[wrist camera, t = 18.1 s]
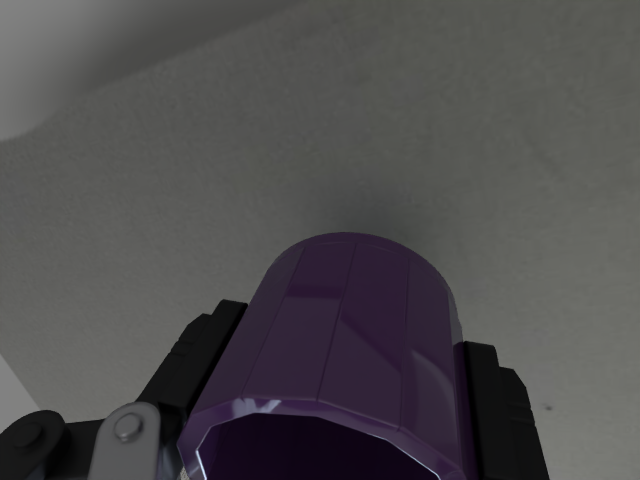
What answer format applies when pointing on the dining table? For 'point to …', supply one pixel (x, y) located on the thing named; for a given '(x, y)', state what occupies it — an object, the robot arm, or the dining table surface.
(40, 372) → the dining table surface
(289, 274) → the ramekin
